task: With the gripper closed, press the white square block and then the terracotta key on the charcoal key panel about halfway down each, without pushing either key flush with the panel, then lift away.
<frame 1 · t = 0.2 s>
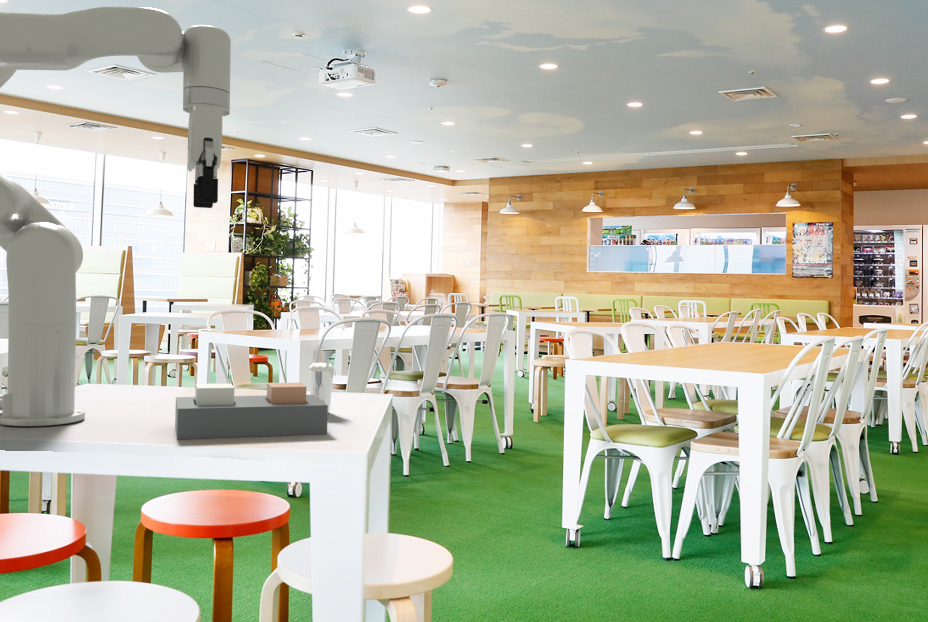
hand: (205, 205, 134), 36 cm above the table, tool pointing down, fingers open, 9 cm apart
clay key: (286, 397, 127), point 5 cm above the table, slide at 0.0 cm
white square block: (214, 398, 123), point 5 cm above the table, slide at 0.0 cm
milkshake: (321, 414, 143), on the table
key panel: (250, 429, 125), on the table
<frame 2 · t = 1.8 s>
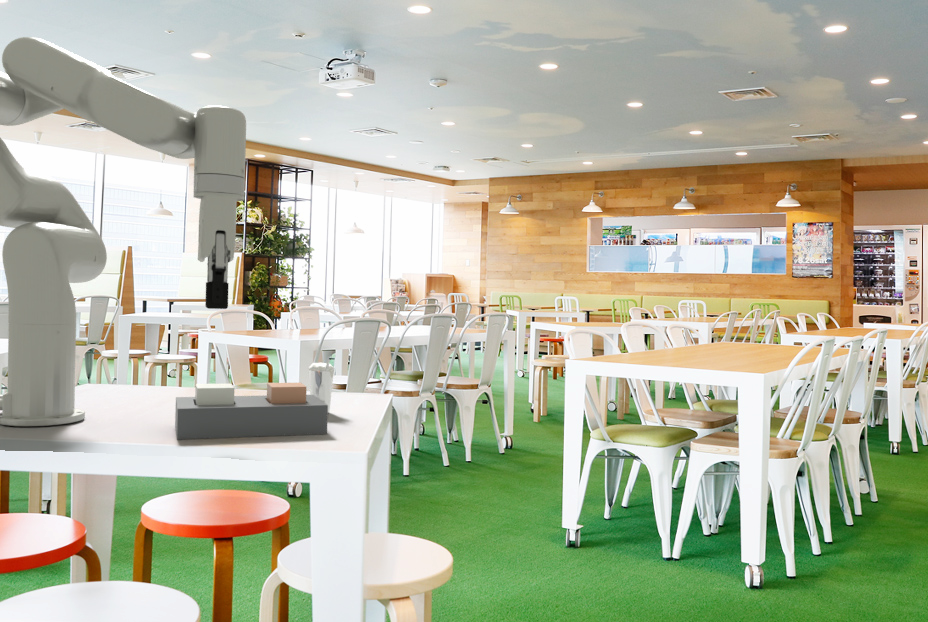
hand: (216, 308, 122), 19 cm above the table, tool pointing down, fingers closed
nothing on the table moved.
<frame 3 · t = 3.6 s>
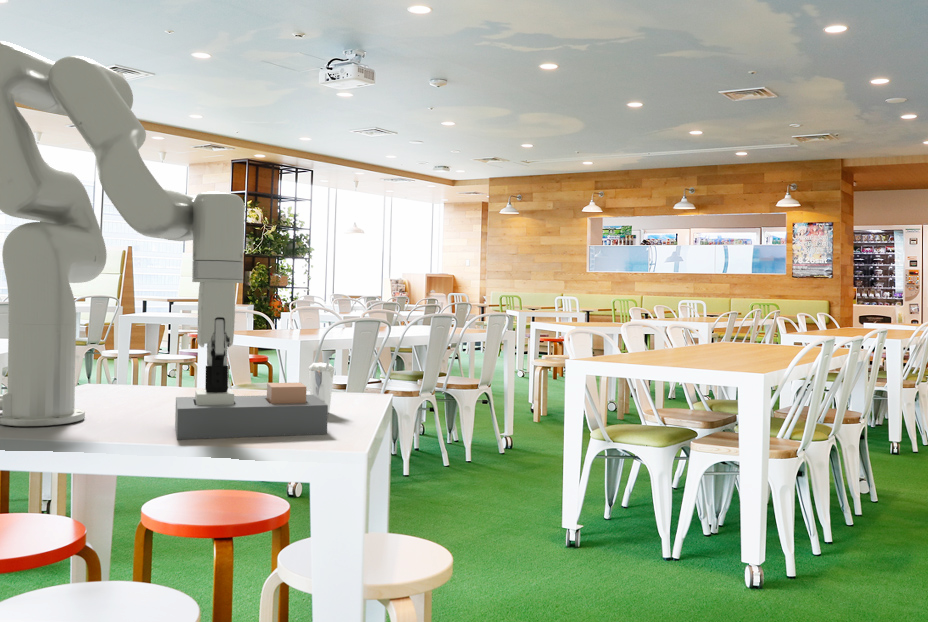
hand: (216, 391, 123), 6 cm above the table, tool pointing down, fingers closed
white square block: (214, 404, 123), point 4 cm above the table, slide at 0.9 cm, touching gripper
everything else where it was.
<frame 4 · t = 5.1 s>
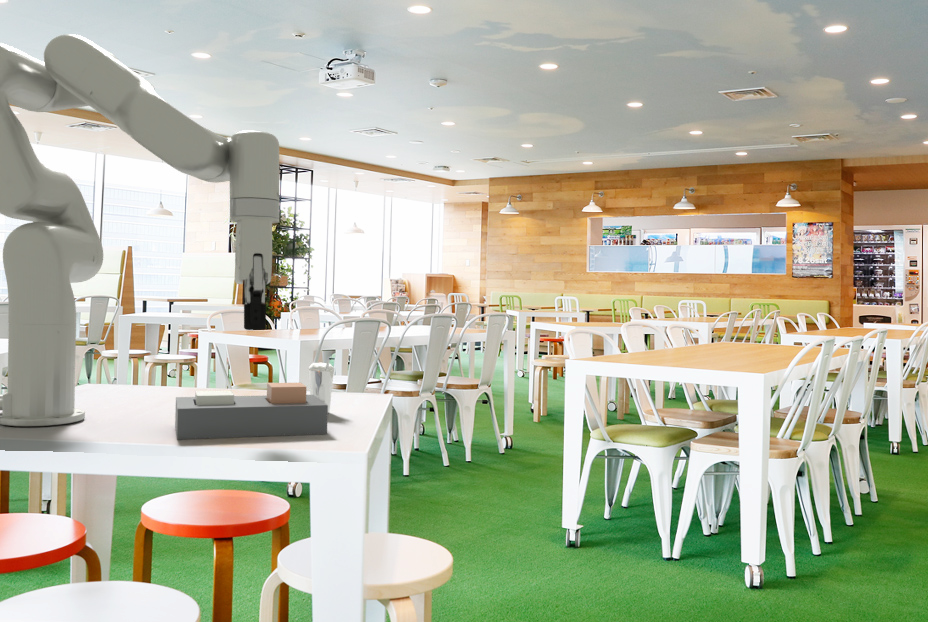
hand: (254, 329, 124), 16 cm above the table, tool pointing down, fingers closed
white square block: (214, 405, 123), point 4 cm above the table, slide at 1.1 cm
everything else where it was.
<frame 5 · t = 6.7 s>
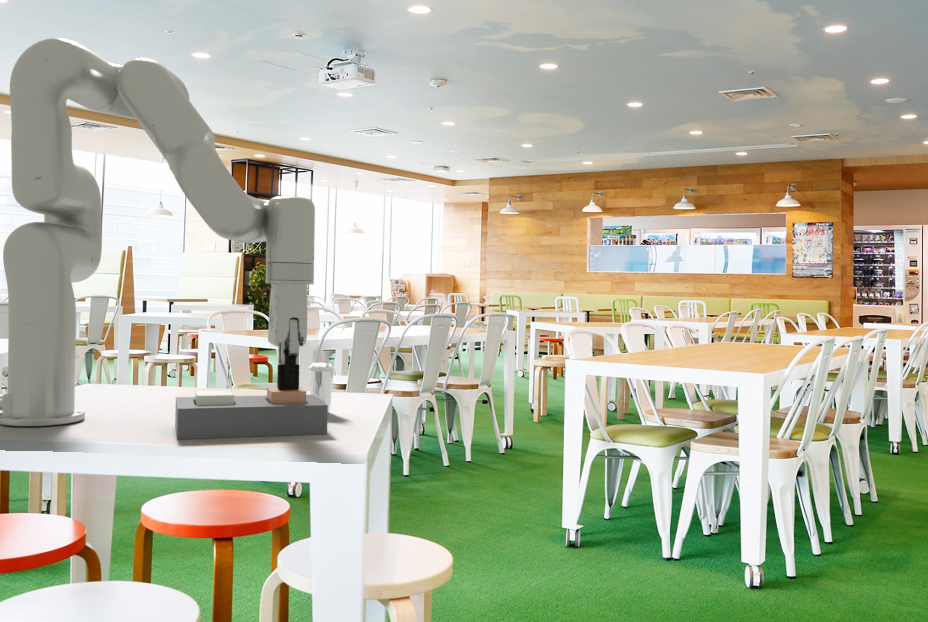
hand: (288, 389, 127), 6 cm above the table, tool pointing down, fingers closed
clay key: (286, 401, 127), point 4 cm above the table, slide at 0.7 cm, touching gripper
everything else where it was.
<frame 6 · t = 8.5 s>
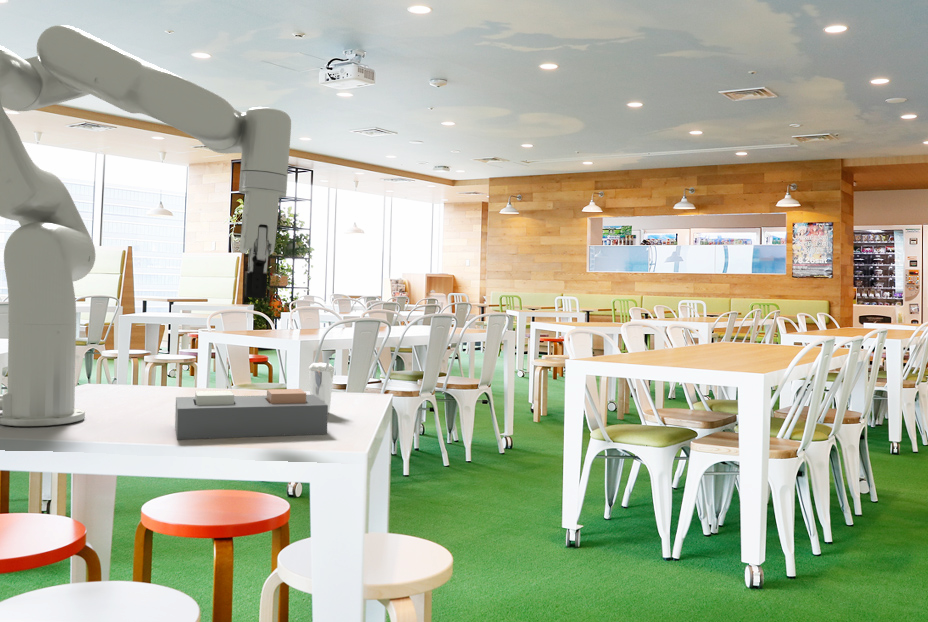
hand: (255, 297, 130), 21 cm above the table, tool pointing down, fingers closed
clay key: (286, 403, 127), point 4 cm above the table, slide at 1.0 cm
everything else where it was.
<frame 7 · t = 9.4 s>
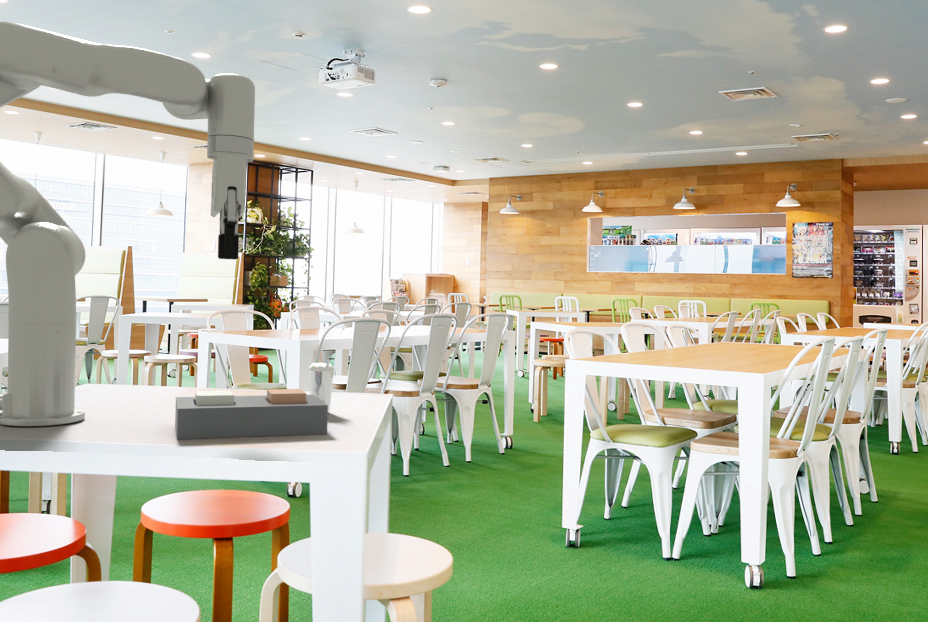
hand: (228, 258, 134), 27 cm above the table, tool pointing down, fingers closed
nothing on the table moved.
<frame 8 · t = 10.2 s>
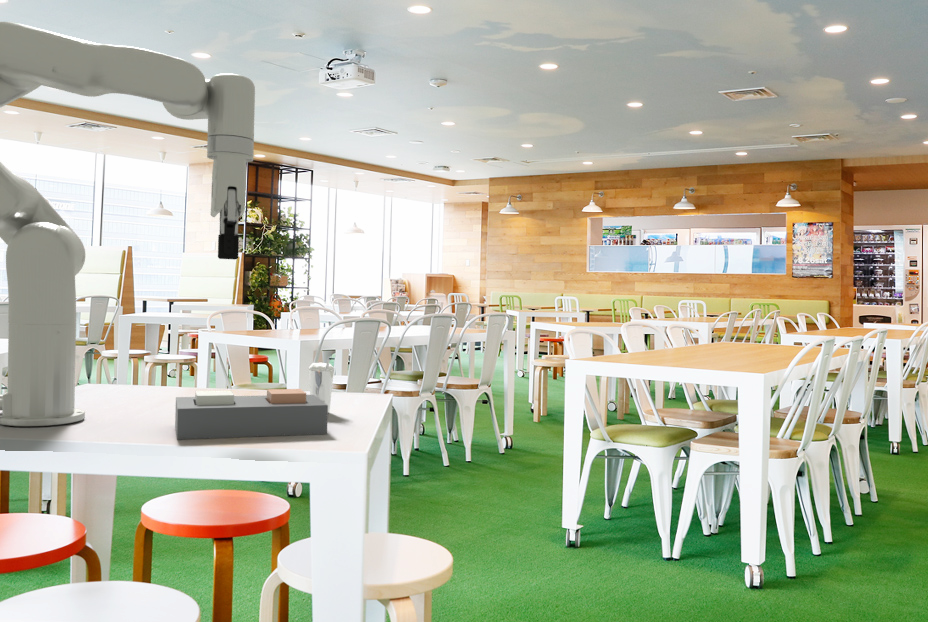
hand: (228, 258, 134), 27 cm above the table, tool pointing down, fingers closed
nothing on the table moved.
at the end: white square block slide at 1.1 cm; clay key slide at 1.0 cm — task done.
